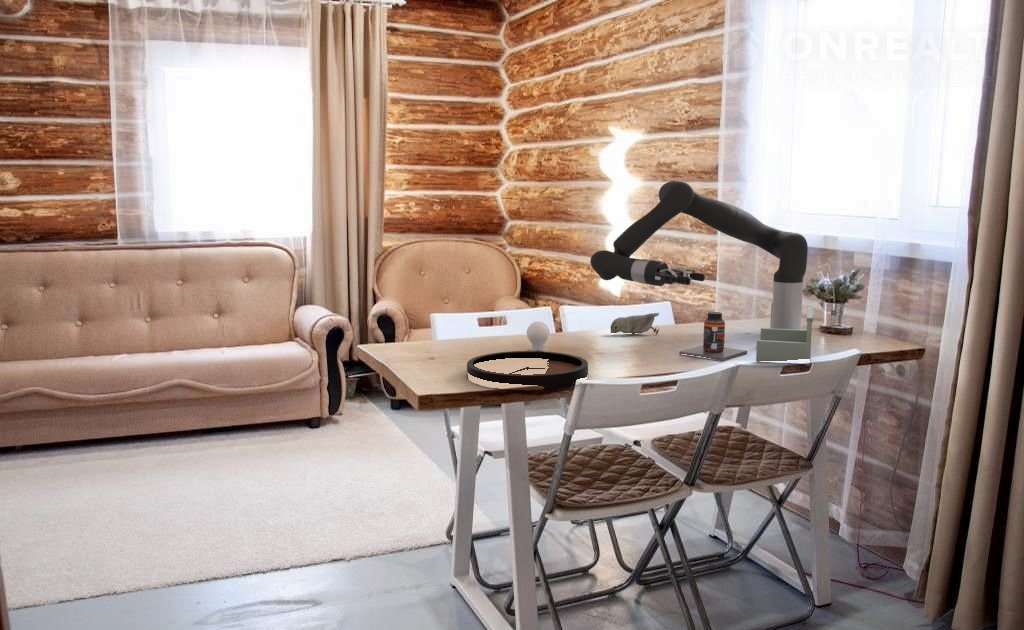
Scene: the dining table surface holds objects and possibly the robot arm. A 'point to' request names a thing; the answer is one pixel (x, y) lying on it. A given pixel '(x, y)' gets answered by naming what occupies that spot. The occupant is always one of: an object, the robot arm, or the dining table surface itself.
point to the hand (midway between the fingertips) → (697, 279)
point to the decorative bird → (634, 324)
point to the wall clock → (556, 377)
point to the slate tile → (715, 353)
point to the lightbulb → (538, 335)
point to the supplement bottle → (714, 332)
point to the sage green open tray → (785, 343)
